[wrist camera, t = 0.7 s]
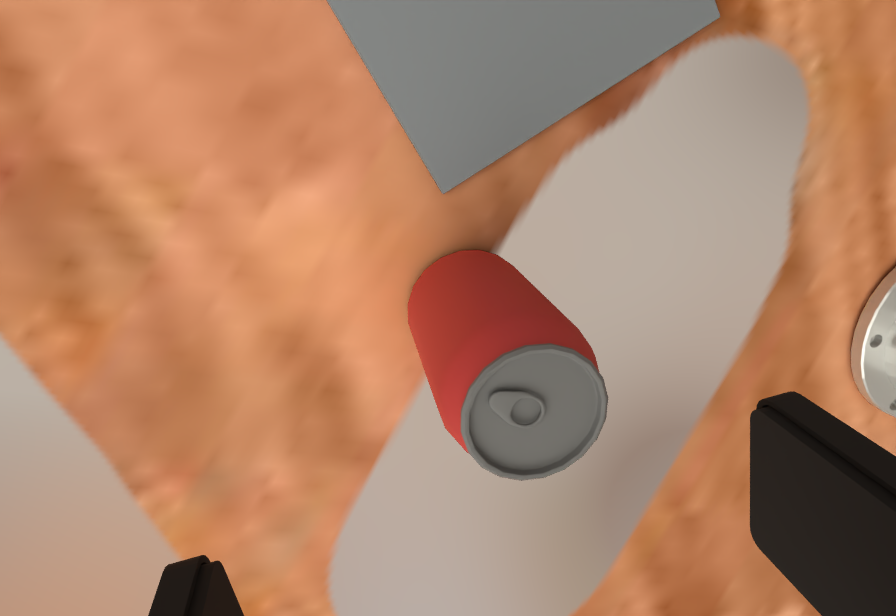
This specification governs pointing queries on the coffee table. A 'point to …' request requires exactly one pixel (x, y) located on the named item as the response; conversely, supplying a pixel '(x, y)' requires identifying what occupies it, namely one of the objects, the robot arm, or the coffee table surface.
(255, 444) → the coffee table surface
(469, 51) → the slate mat
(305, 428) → the coffee table surface
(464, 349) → the beer can
